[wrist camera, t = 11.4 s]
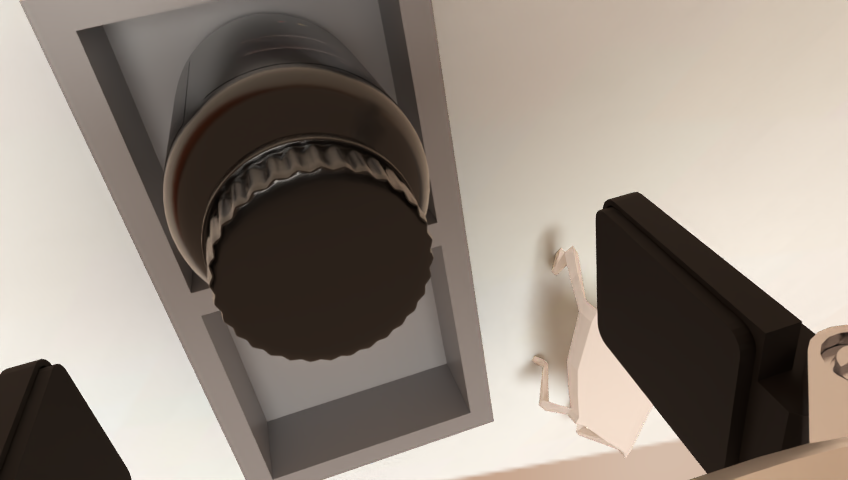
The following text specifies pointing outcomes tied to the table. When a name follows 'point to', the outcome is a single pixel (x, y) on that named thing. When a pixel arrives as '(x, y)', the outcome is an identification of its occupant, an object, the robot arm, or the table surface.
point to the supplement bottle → (296, 189)
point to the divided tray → (192, 297)
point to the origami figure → (595, 377)
